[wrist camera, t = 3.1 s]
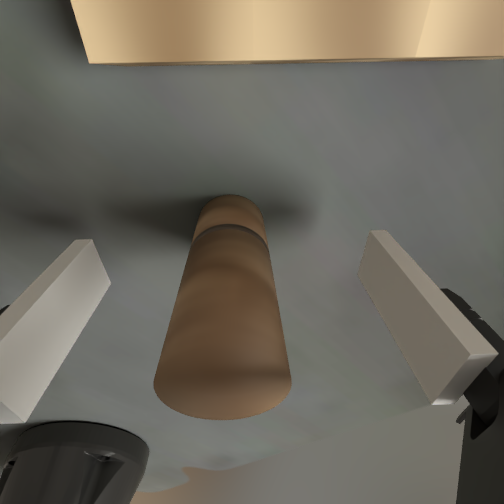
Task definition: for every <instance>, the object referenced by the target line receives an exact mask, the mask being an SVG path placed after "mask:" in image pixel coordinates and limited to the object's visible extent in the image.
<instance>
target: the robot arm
mask: <svg viewBox="0 0 504 504" xmlns="http://www.w3.org/2000/svg"><path fill="white" fill-rule="evenodd" d="M357 275H358V277H359V279H360V280H361V282H362V284H363V286H364V287H365V289H366V291H367V293H368V294H369V296H370V298H371V300H372V301H373V303H374V305H375V307H376V308H377V310H378V312H379V314H380V315H381V317H382V319H383V321H384V322H385V324H386V326H387V328H388V329H389V331H390V333H391V335H392V336H393V338H394V340H395V342H396V343H397V345H398V347H399V349H400V350H401V352H402V354H403V356H404V357H405V359H406V361H407V363H408V364H409V366H410V368H411V370H412V371H413V373H414V375H415V376H416V378H417V380H418V382H419V383H420V385H421V387H422V389H423V390H424V392H425V394H426V396H427V397H428V399H429V401H430V403H431V404H432V405H438V404H455V403H456V402H457V401H458V399H459V398H460V397H461V396H462V395H463V394H464V396H465V397H466V399H467V400H468V402H469V403H470V405H469V406H468V407H467V408H466V409H465V410H464V411H463V412H462V413H461V414H460V415H459V417H458V418H457V420H456V422H457V423H459V424H460V423H461V422H462V421H463V420H464V419H465V427H464V436H463V445H462V454H461V463H460V472H459V482H458V491H457V500H456V504H504V341H503V340H502V339H501V338H500V337H499V335H498V334H497V333H496V332H495V331H494V330H493V329H492V328H491V327H490V326H489V325H488V324H487V323H486V322H485V321H484V320H483V321H482V320H481V317H480V316H479V315H478V314H477V313H476V312H475V311H473V310H472V308H471V307H470V306H469V305H468V304H467V303H466V302H465V301H464V300H463V299H462V298H461V297H460V296H458V295H457V294H455V293H453V292H452V291H450V290H449V289H439V288H438V287H437V285H436V284H435V283H434V282H433V281H432V280H431V279H430V278H429V277H428V276H427V275H426V273H425V272H424V271H423V270H422V269H421V268H420V267H419V266H418V265H417V264H416V263H415V261H414V260H413V259H412V258H411V257H410V256H409V255H408V254H407V253H406V252H405V251H404V249H403V248H402V247H401V246H400V245H399V244H398V243H397V242H396V241H395V240H394V239H393V237H392V236H391V235H390V234H389V233H388V232H387V231H386V230H370V231H369V235H368V239H367V242H366V246H365V249H364V253H363V257H362V260H361V264H360V267H359V271H358V274H357ZM110 284H111V282H110V280H109V278H108V275H107V273H106V271H105V268H104V266H103V264H102V261H101V259H100V257H99V254H98V252H97V250H96V247H95V245H94V243H93V240H92V239H81V240H75V241H74V242H73V243H72V244H71V245H70V246H69V247H68V248H67V249H66V250H65V251H64V252H63V253H62V254H61V255H60V256H59V257H58V258H57V259H56V260H55V261H54V262H53V263H52V264H51V265H50V266H49V267H48V268H47V269H46V270H45V271H44V272H43V273H42V274H41V275H40V276H39V277H38V278H37V279H36V280H35V281H34V282H33V283H32V284H31V285H30V286H29V287H28V288H27V289H26V290H25V291H24V292H23V293H22V294H21V295H20V296H19V297H18V298H17V299H16V300H15V301H14V302H13V303H12V304H11V305H7V306H6V307H4V308H3V309H1V310H0V424H10V423H25V422H26V421H27V419H28V418H29V416H30V414H31V413H32V411H33V409H34V408H35V406H36V405H37V403H38V401H39V400H40V398H41V397H42V395H43V393H44V392H45V390H46V388H47V387H48V385H49V384H50V382H51V380H52V379H53V377H54V375H55V374H56V372H57V371H58V369H59V367H60V366H61V364H62V362H63V361H64V359H65V358H66V356H67V354H68V353H69V351H70V349H71V348H72V346H73V345H74V343H75V341H76V340H77V338H78V336H79V335H80V333H81V332H82V330H83V328H84V327H85V325H86V323H87V322H88V320H89V319H90V317H91V315H92V314H93V312H94V310H95V309H96V307H97V306H98V304H99V302H100V301H101V299H102V297H103V296H104V294H105V293H106V291H107V289H108V288H109V286H110ZM148 457H149V448H148V446H147V445H146V444H145V443H144V442H143V441H142V440H141V439H139V438H138V437H136V436H134V435H132V434H130V433H128V432H125V431H122V430H119V429H116V428H112V427H108V426H103V425H97V424H89V423H74V422H66V423H52V424H45V425H41V426H37V427H34V428H31V429H29V430H27V431H25V432H24V433H22V434H21V435H20V437H19V438H18V440H17V442H16V443H15V445H14V447H13V448H12V450H11V452H10V453H9V455H8V457H7V459H6V461H5V465H4V470H3V472H2V475H1V479H0V504H130V502H131V500H132V498H133V496H134V494H135V492H136V490H137V488H138V486H139V484H140V482H141V480H142V478H143V476H144V473H145V469H146V465H147V461H148Z"/></svg>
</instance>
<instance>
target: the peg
mask: <svg viewBox="0 0 504 504" xmlns="http://www.w3.org/2000/svg"><path fill="white" fill-rule="evenodd" d="M290 389H291V375H290V369H289V363H288V358H287V352H286V346H285V340H284V335H283V329H282V323H281V318H280V312H279V306H278V300H277V295H276V289H275V283H274V278H273V272H272V266H271V260H270V255H269V249H268V243H267V237H266V232H265V226H264V220H263V216H262V214H261V212H260V210H259V208H258V207H257V206H256V205H255V204H254V203H253V202H252V201H250V200H248V199H247V198H244V197H242V196H238V195H223V196H219V197H216V198H214V199H212V200H211V201H209V202H208V203H207V204H206V205H205V206H204V207H203V209H202V210H201V212H200V215H199V218H198V222H197V225H196V229H195V233H194V236H193V240H192V244H191V247H190V251H189V254H188V258H187V262H186V265H185V269H184V273H183V276H182V280H181V283H180V287H179V291H178V294H177V298H176V302H175V305H174V309H173V312H172V316H171V320H170V323H169V327H168V331H167V334H166V338H165V341H164V345H163V349H162V352H161V356H160V360H159V363H158V367H157V371H156V374H155V378H154V390H155V393H156V394H157V396H158V397H159V399H160V400H161V401H162V402H163V403H164V404H166V405H167V406H168V407H170V408H171V409H173V410H175V411H177V412H180V413H182V414H185V415H188V416H192V417H196V418H202V419H210V420H233V419H241V418H246V417H251V416H254V415H258V414H261V413H263V412H266V411H268V410H270V409H272V408H273V407H275V406H277V405H278V404H279V403H281V402H282V401H283V400H284V399H285V398H286V396H287V395H288V393H289V391H290Z"/></svg>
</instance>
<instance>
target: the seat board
mask: <svg viewBox="0 0 504 504" xmlns="http://www.w3.org/2000/svg"><path fill="white" fill-rule="evenodd" d="M71 4H72V7H73V10H74V14H75V17H76V20H77V24H78V27H79V30H80V34H81V37H82V40H83V44H84V47H85V50H86V54H87V57H88V60H89V63H91V64H104V65H117V66H173V65H226V64H280V63H333V62H387V61H440V60H489V59H504V0H71Z"/></svg>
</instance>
